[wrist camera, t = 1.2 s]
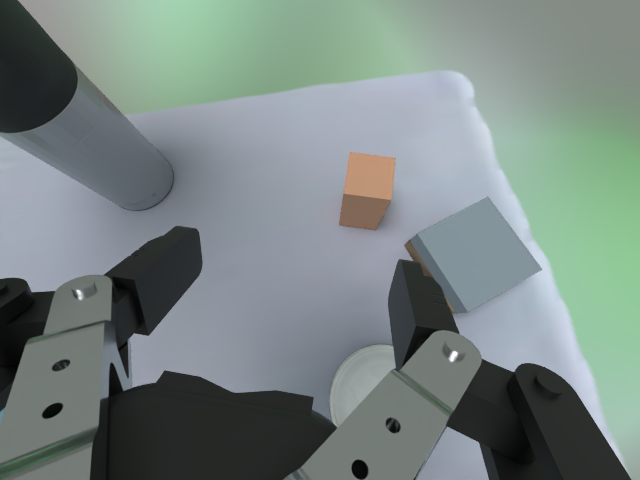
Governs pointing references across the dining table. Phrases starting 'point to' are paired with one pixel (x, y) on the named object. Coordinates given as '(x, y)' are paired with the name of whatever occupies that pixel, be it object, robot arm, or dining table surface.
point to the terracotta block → (367, 190)
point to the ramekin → (358, 379)
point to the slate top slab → (474, 255)
